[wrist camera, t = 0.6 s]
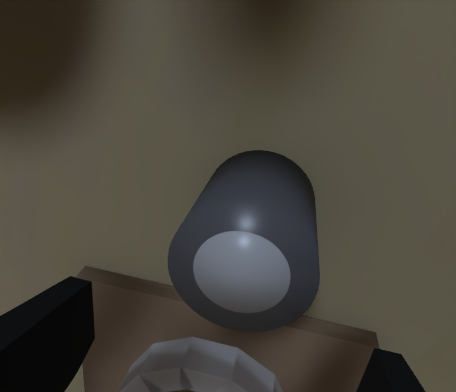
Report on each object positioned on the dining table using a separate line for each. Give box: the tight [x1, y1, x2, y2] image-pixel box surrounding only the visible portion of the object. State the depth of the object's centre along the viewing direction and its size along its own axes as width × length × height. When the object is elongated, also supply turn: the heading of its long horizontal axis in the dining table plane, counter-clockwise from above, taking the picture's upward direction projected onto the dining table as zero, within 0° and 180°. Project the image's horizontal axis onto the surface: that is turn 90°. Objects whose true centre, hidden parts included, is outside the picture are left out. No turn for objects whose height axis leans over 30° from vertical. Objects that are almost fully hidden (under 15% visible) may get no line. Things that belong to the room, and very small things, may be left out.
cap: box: [168, 150, 320, 332], centre depth 14 cm, size 5×5×6 cm
